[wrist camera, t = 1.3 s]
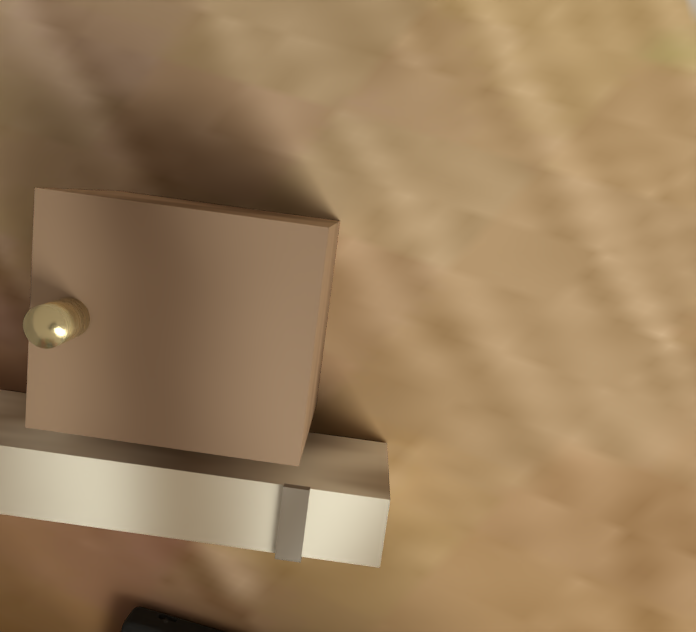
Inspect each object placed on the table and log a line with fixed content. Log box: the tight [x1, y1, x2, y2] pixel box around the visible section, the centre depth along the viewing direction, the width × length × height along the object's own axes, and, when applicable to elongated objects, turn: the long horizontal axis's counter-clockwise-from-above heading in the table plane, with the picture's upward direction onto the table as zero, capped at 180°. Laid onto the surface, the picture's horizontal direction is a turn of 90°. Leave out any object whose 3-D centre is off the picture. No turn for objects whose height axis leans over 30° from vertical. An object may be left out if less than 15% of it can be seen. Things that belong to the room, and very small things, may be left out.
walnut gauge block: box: [23, 188, 340, 467], centre depth 17 cm, size 7×6×6 cm
